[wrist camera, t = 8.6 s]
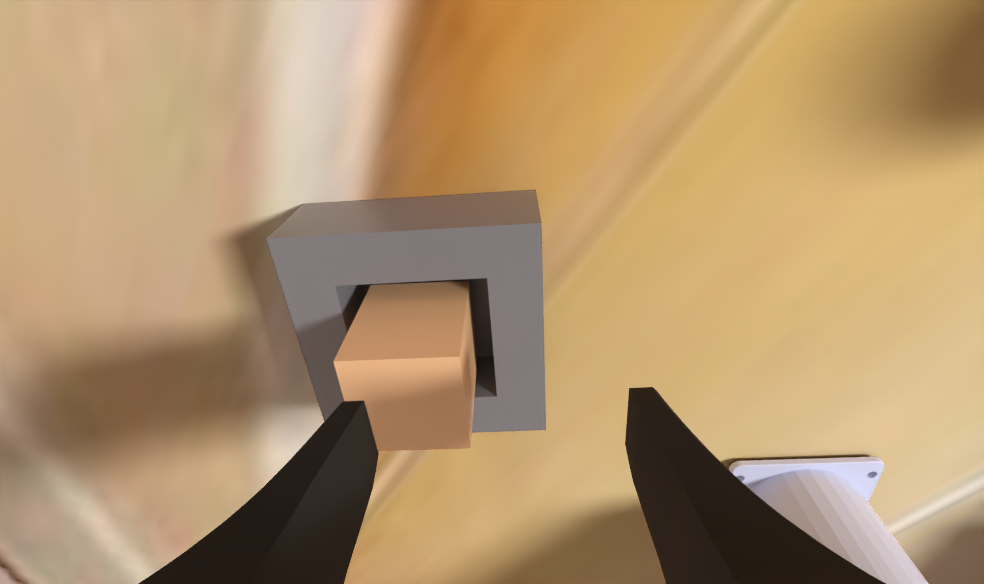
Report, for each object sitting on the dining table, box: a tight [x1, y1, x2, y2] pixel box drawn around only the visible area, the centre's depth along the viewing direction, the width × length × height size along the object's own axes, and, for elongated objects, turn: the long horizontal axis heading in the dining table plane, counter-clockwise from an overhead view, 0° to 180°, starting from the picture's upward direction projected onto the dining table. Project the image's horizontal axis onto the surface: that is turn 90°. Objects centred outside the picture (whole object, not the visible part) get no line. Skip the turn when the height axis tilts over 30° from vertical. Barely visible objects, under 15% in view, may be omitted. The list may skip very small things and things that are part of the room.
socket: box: [266, 190, 546, 432], centre depth 21 cm, size 10×10×4 cm
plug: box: [333, 281, 477, 451], centre depth 19 cm, size 4×4×6 cm
